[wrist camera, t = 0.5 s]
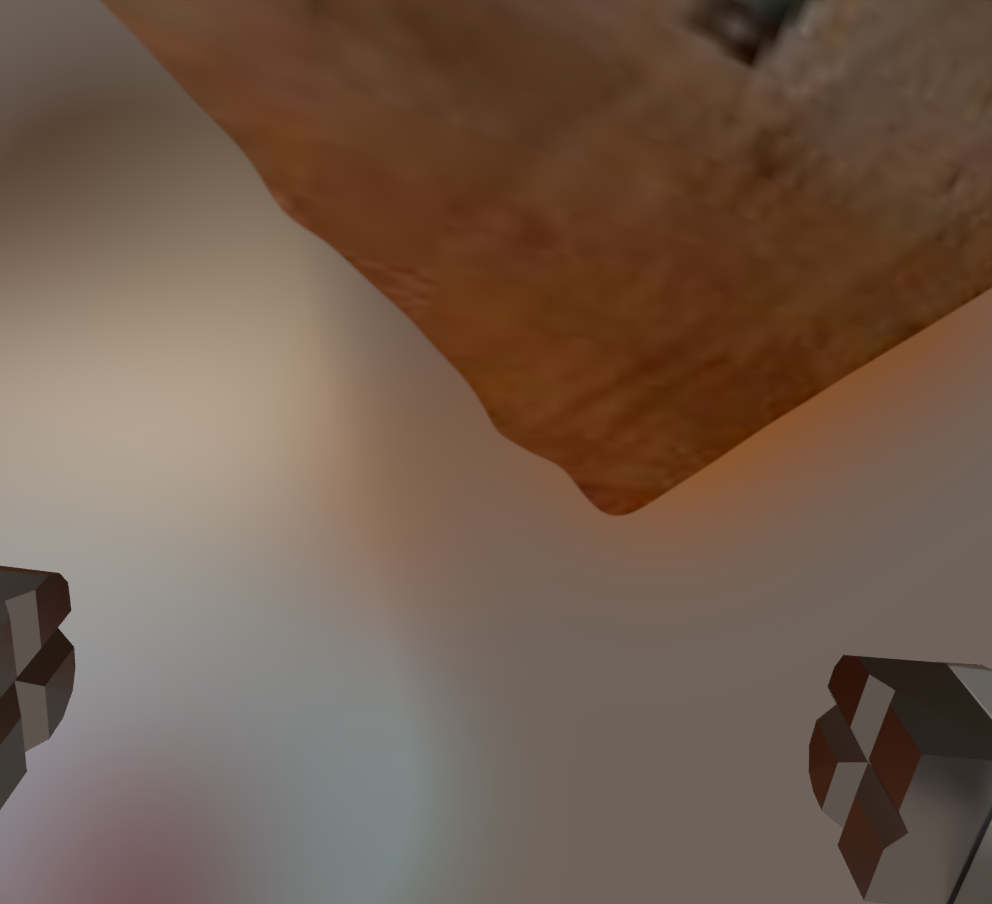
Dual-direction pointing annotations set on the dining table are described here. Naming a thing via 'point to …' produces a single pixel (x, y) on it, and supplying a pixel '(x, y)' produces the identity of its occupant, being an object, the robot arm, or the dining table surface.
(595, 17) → the dining table surface
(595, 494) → the dining table surface
